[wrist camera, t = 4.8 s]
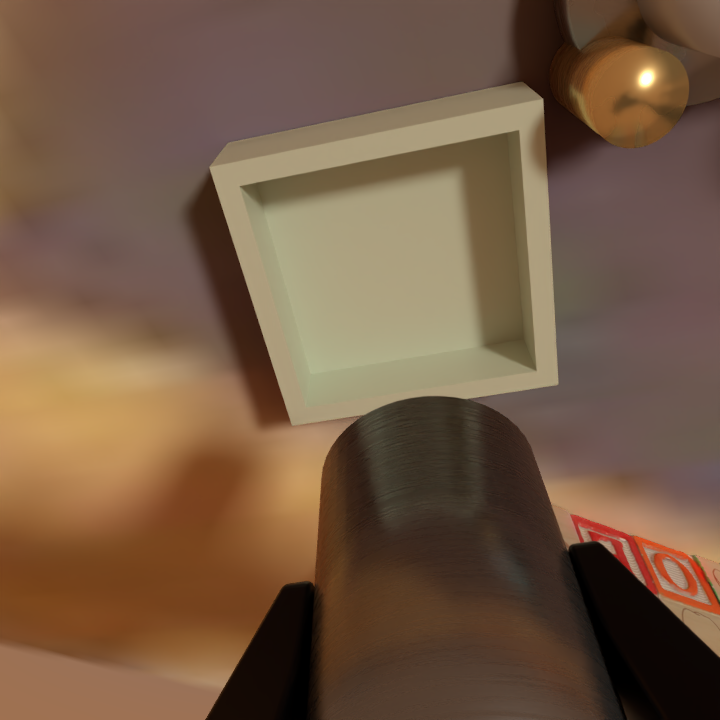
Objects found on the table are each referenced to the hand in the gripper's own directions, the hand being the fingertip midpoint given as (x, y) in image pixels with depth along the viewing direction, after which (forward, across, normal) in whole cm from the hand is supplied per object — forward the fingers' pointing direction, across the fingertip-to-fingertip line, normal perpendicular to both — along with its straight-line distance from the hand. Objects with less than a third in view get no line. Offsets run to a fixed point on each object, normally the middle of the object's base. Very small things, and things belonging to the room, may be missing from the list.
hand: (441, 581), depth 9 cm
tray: (+12, 0, 0) cm, 13 cm away
